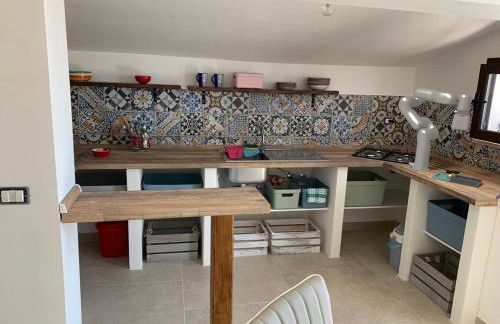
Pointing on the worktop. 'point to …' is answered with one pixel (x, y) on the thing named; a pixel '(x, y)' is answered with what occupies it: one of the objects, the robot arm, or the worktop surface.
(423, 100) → the robot arm
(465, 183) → the slot plate
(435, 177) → the tray
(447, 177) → the brass puck
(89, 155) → the worktop surface
